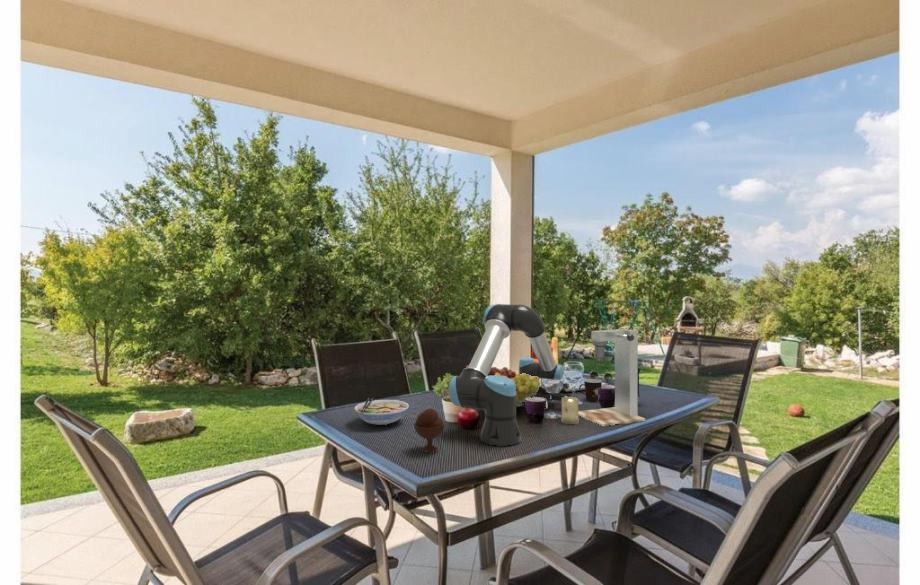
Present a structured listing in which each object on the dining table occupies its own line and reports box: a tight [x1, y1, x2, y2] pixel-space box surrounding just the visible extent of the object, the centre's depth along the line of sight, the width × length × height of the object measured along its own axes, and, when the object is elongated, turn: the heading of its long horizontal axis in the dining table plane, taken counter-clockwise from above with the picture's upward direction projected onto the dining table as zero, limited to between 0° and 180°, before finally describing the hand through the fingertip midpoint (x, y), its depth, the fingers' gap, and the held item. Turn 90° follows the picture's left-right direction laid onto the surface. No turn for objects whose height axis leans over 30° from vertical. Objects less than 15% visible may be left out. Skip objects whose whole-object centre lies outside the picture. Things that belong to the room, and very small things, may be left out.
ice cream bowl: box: [413, 408, 446, 452], centre depth 164 cm, size 11×11×15 cm
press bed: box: [579, 406, 647, 427], centre depth 204 cm, size 22×20×1 cm
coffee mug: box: [578, 378, 603, 403], centre depth 233 cm, size 12×9×10 cm
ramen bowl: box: [354, 396, 410, 426], centre depth 197 cm, size 25×23×8 cm
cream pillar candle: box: [561, 396, 580, 425], centre depth 197 cm, size 7×7×10 cm
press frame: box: [590, 328, 639, 416], centre depth 201 cm, size 19×16×37 cm
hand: (560, 403), depth 204 cm, fingers open, 13 cm apart
